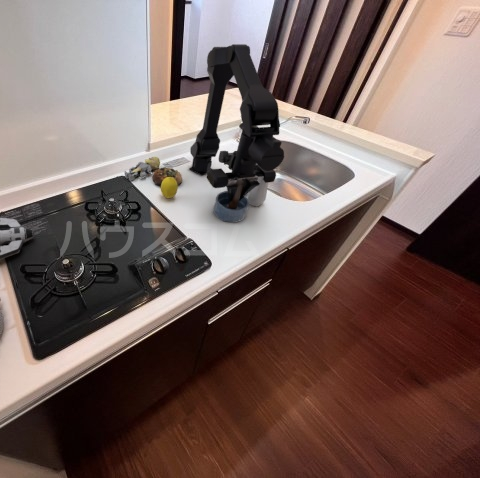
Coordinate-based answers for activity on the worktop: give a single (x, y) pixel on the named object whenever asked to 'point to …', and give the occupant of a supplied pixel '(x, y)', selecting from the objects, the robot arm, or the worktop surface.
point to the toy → (143, 168)
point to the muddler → (236, 196)
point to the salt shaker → (258, 193)
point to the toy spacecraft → (12, 237)
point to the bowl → (227, 213)
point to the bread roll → (166, 175)
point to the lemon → (169, 187)
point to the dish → (1, 321)
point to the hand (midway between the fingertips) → (234, 200)
